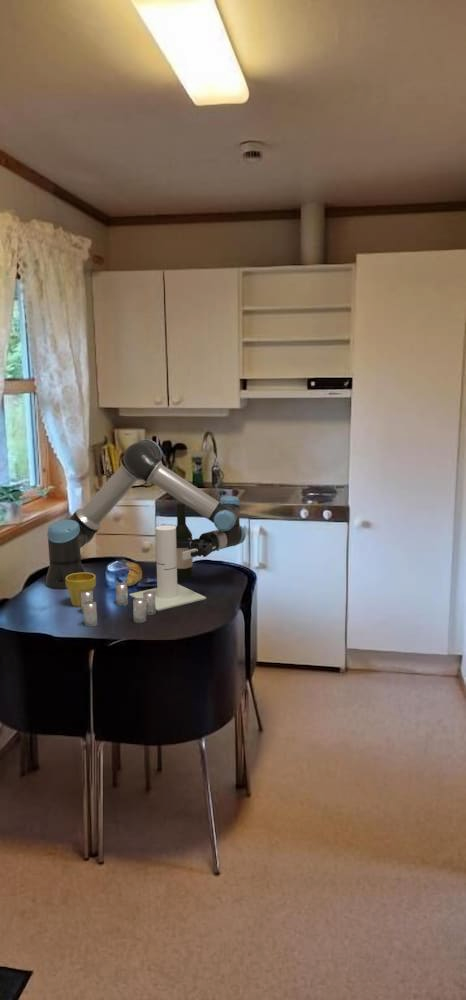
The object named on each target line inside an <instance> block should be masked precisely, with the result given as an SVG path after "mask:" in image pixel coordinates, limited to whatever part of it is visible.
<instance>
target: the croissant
mask: <svg viewBox="0 0 466 1000" xmlns="http://www.w3.org/2000/svg"><path fill="white" fill-rule="evenodd" d="M125 564H126V565H127V566H129V567H131V568H130V569H129V573H128V575H127V579H126V581H125V583H127V587H132V586H134V585H136V584H138V583H139V582H140V581H142V580H143V570H142V568H141V566H140V565H139V564H138V563H137V562H136V563H135V562H133V561H130V562H126V563H125ZM141 579H142V580H141ZM137 582H138V583H137Z"/></svg>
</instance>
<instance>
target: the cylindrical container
mask: <svg viewBox="0 0 466 1000" xmlns="http://www.w3.org/2000/svg"><path fill="white" fill-rule="evenodd" d="M155 548H156V549H155V551H156V552H155V553H156V585H157V587H156V588H157V594H158V597H159V598H162V599H172V598H175V597H177V595H178V594H177V584H178V579H177V549H176V526H174V525H169V524H168V525H165V524H163V525H159V526H156V527H155Z"/></svg>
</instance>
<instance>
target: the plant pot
mask: <svg viewBox="0 0 466 1000" xmlns="http://www.w3.org/2000/svg"><path fill="white" fill-rule="evenodd" d="M96 584H97V577H96V574H94V573H92V572H86V571H85V572H81V573H73V574H70V575H68V576H66V587H67V588H66V589H67V590H68V594H69V597H70V601H71V605H72V606H75V607H81V591H84V590H92V591H93V592H94V588H95V587H96Z"/></svg>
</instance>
